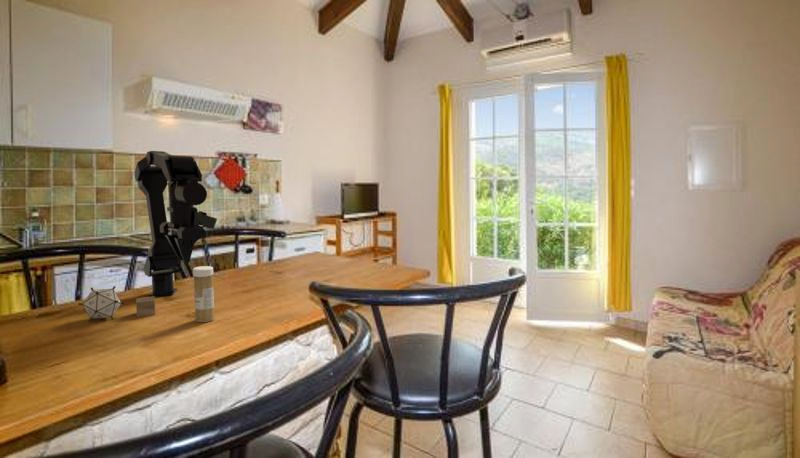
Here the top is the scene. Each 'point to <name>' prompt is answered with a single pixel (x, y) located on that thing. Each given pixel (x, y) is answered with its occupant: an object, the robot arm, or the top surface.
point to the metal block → (145, 306)
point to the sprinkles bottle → (203, 293)
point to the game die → (101, 303)
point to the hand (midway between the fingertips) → (184, 261)
